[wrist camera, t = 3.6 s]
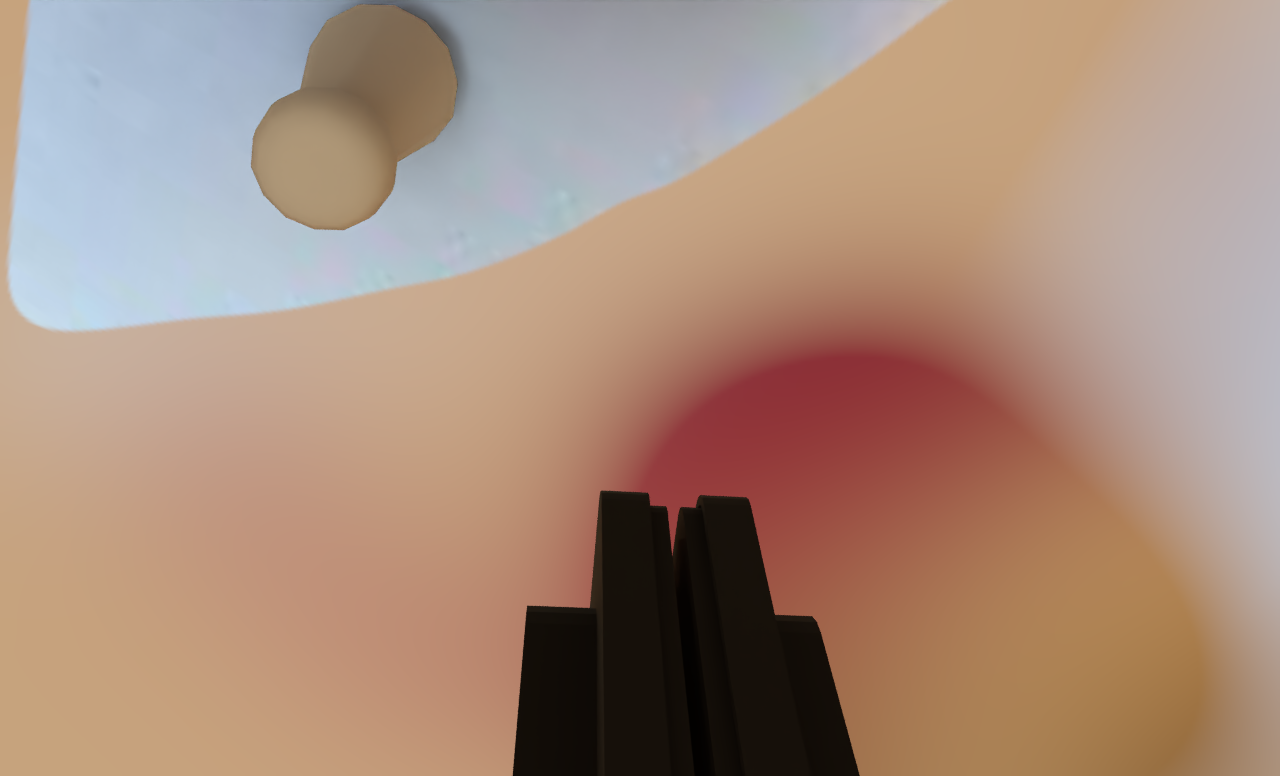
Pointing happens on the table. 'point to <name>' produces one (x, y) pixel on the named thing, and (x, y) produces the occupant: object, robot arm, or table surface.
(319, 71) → the salt shaker
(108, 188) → the table surface
